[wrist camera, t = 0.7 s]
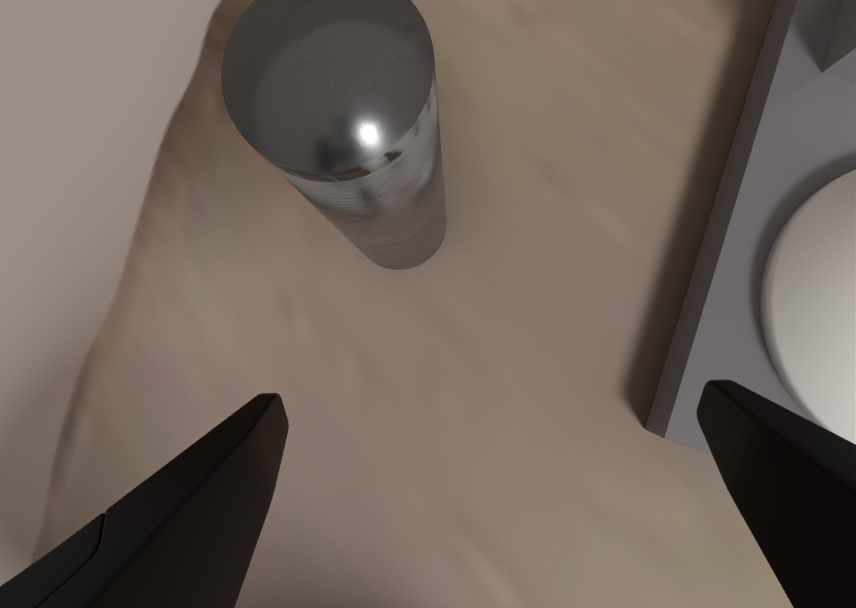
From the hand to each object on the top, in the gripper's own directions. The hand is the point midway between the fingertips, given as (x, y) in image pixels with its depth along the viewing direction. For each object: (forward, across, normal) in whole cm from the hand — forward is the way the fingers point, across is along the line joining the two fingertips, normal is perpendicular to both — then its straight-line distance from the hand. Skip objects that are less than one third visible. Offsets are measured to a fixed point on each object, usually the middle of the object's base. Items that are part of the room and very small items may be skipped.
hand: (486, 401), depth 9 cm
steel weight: (+15, +3, +1) cm, 15 cm away
